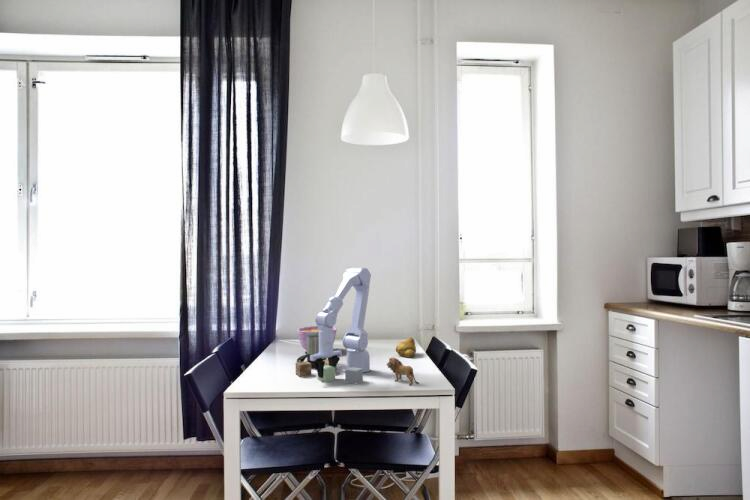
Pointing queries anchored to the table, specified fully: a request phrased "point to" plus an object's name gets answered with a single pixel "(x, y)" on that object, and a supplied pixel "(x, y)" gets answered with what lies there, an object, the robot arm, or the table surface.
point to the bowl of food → (305, 330)
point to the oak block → (328, 364)
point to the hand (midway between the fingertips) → (326, 376)
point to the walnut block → (303, 369)
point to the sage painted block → (328, 374)
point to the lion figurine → (401, 370)
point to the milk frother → (311, 348)
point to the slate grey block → (354, 375)
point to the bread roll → (406, 348)
